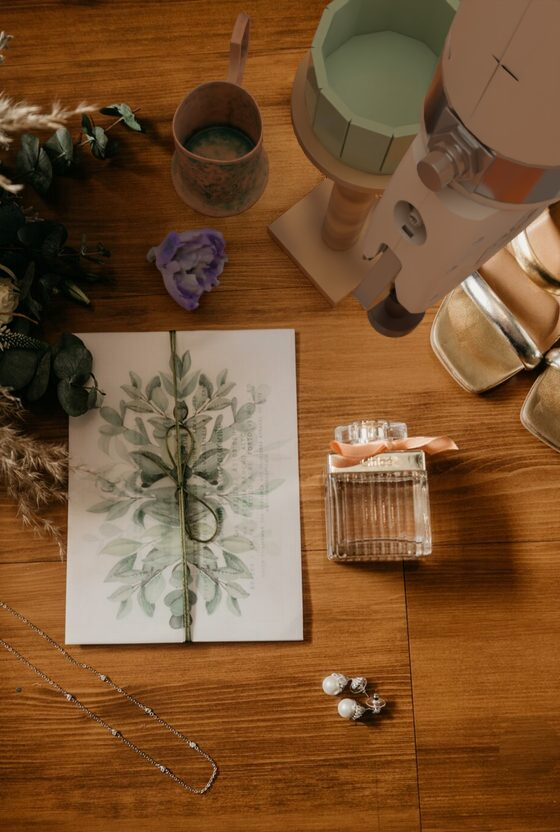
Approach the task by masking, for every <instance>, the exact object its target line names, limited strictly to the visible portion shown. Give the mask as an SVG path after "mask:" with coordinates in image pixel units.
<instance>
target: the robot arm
mask: <svg viewBox="0 0 560 832" xmlns="http://www.w3.org/2000/svg"><path fill="white" fill-rule="evenodd" d="M459 1H460V4H459V6H458V9H457V12H456V14H455V17H454V19H453V22H452V25H451V27H450V30H449V32H448V35H447V37H446V39H445V42H444V45H443V47H442V50H441V52H440V55H439V57H438V60H437V63H436V65H435V68H434V70H433V73H432V75H431V78H430V80H429V83H428V85H427V88H426V91H425V93H424V96H423V100H422V105H421V111H420V129H421V130H420V131H419V133H418V134H417V136H416V137H415V139H414V140H413V142H412V144H411V145H410V147H409V149H408V150H407V152H406V153H405V155H404V157H403V158H402V160H401V162H400V164H399V165H398V167H397V169H396V170H395V172H394V174H393V176H392V178H391V179H390V181H389V183H388V185H387V187H386V189H385V190H384V192H383V194H382V195H380V198H379V199H378V200H379V202H378V204H377V206H376V208H375V211H374V213H373V215H372V217H371V219H370V222H369V224H368V227H367V229H366V232H365V235H364V238H363V242H362V248H361V255H362V259H363V260H365V259H368V260H369V261H371V260H372V259H373V258H374V257H375V256H377V255H378V254H379V253H380V252H381V251H382V252H383V254H382V255H381V257H380V258H379V259H378V261H377V262H376V263H375V265H374V266H373V267H372V269H371V270H370V271H369V273H368V274H367V275H366V277H365V278H364V279H363V281H362V282H361V283H360V285H359V286H358V287H357V289H356V290H355V291H353V292H352V293H351V294H352V295H351V296H353V298H354V299H355V300H356V301H357V302H358V304H359V305H360V306H361V307H362V308H363V309H364V310H365V311H366V312H367V311H369V310H370V309H371V308H373V307H374V306H376V305H377V304H378V303H380V302H381V301H383V300H384V299H385V298H386V297H387V296H389V297H390V298H391V299H392V300H393V301H394V302H395V303H396V304H401V305H402V306H403V307H404V308H406V309H407V310H408V311H409V312H410V313H422V312H425V311H426V312H427V311H428V310H429V309H431V308H432V307H433V306H435V305H436V304H437V303H439V302H440V301H441V300H443V299H444V298H445V297H446V296H447V295H449V294H450V293H451V292H452V291H454V290H455V289H456V288H457V287H459V286H460V285H461V284H462V283H463V282H464V281H465V280H467V279H468V278H470V276H472V275H473V274H475V272H477V271H478V270H479V269H480V268H481V267H482V266H484V265H485V264H487V262H489V260H491V259H492V258H493V257H494V256H496V255H497V254H498V253H499V252H500V251H501V250H503V249H504V248H505V247H506V246H507V245H508V244H510V243H511V242H512V241H513V240H514V239H516V238H517V237H518V236H519V235H520V234H521V233H522V232H523V231H524V230H526V229H527V228H528V227H530V225H531V224H533V222H535V220H537V219H538V218H539V217H540V216H541V215H542V214H543V213H544V212H545V211H546V210H547V208H548V207H549V206H551V205H552V204H555V203H557V202H559V201H560V0H459Z"/></svg>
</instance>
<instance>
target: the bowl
mask: <svg viewBox="0 0 560 832" xmlns="http://www.w3.org/2000/svg"><path fill="white" fill-rule="evenodd" d="M460 1H461V0H332V1H331V2H330V3H328V4H327V5H326V7H325V8H324V9H323V12H322V14H321V17H320V20H319V22H318V26H317V27H316V30H315V33H314V36H313V38H312V41H311V44H310V48H309V49H310V54H309V61H308V68H307V75H306V82H305V90H304V92H305V97H306V108H307V115H308V118H309V122H310V125H311V127H312V129H313V132H314V133H315V135H316V137H317V139H318V140H319V142H320V143H321V144H322V145H323V147H324V148H325V149H326V150H327V151H328V152H329V153H330V154H331V155H332V156H334V157H335V158H336V159H337V160H339V161H340V162H342V163H344V164H345V165H347V166H349V167H351V168H354V169H356V170H359V171H363V172H366V173H371V174H379V175H390V174H394V172H395V170H396V169H397V167H398V165H399V164H400V162H401V160H402V158H403V157H404V155H405V153H406V152H407V150H408V149H409V147H410V145H411V144H412V142H413V140H414V139H415V137H416V136H417V134H418V133H419V131H420V130H421V129H420V111H421V105H422V100H423V96H424V93H425V91H426V88H427V85H428V83H429V80H430V78H431V75H432V73H433V70H434V68H435V65H436V63H437V60H438V57H439V55H440V52H441V50H442V47H443V45H444V42H445V39H446V37H447V35H448V32H449V30H450V27H451V25H452V22H453V19H454V17H455V14H456V12H457V9H458V6H459V4H460Z"/></svg>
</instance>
